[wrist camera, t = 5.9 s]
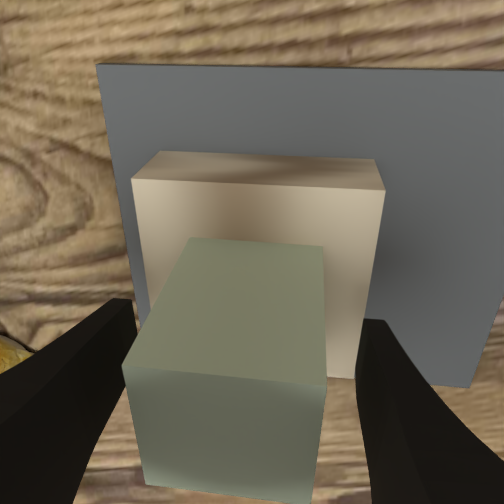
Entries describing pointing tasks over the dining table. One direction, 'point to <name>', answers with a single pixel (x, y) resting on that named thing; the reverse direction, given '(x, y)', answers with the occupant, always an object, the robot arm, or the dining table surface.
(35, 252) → the dining table surface
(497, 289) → the mat
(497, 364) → the dining table surface
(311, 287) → the post
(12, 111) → the dining table surface
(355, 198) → the base
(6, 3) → the dining table surface
